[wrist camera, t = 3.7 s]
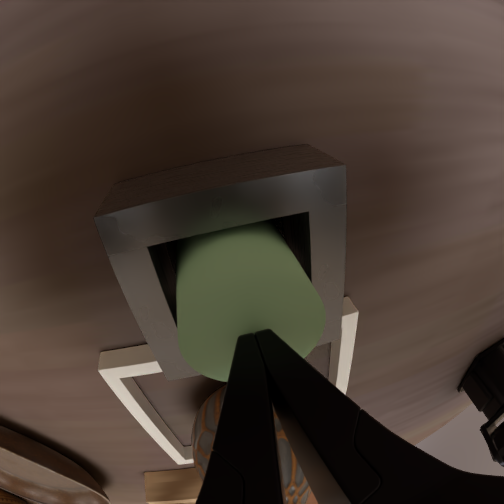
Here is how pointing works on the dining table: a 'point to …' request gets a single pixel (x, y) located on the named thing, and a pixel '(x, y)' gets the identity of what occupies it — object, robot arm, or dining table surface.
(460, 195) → the dining table surface
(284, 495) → the robot arm
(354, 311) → the white square frame
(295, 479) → the vase
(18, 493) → the plant saucer
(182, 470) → the pallet
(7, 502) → the ceramic vessel
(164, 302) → the button housing
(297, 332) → the button
